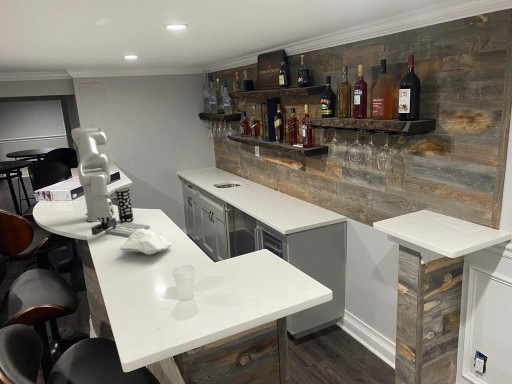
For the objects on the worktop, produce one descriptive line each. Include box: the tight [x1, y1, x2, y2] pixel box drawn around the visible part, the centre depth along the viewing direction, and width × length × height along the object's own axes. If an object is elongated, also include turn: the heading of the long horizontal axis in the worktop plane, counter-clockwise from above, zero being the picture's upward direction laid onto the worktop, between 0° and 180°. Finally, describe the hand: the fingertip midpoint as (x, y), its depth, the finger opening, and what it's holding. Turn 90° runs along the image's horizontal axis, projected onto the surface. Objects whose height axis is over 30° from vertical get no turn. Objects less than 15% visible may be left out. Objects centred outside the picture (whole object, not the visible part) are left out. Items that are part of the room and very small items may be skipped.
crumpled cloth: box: [119, 228, 172, 255], centre depth 191 cm, size 24×35×9 cm
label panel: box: [104, 222, 151, 238], centre depth 224 cm, size 19×16×3 cm
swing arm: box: [90, 216, 118, 236], centre depth 217 cm, size 19×3×4 cm, turn 164°
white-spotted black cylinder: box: [115, 188, 135, 224], centre depth 240 cm, size 8×8×20 cm
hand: (105, 229), depth 213 cm, fingers closed
